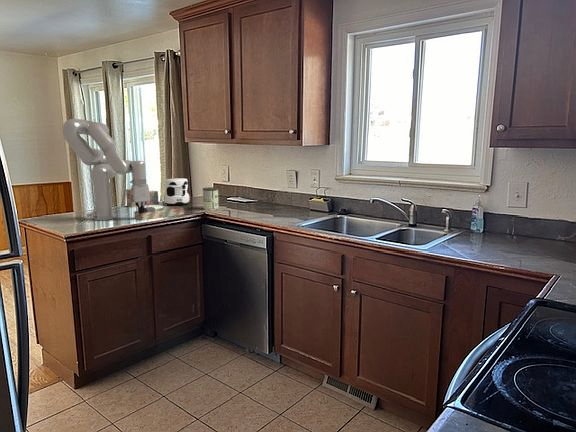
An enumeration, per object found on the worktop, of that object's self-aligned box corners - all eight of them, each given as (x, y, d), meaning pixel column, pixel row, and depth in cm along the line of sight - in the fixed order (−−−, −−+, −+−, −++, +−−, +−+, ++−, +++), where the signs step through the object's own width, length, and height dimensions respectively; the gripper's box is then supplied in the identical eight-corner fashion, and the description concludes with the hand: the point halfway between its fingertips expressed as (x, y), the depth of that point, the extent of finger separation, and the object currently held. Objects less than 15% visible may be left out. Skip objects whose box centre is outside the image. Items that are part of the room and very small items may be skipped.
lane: (142, 220, 252) (142, 213, 251) (134, 218, 258) (134, 211, 258) (184, 214, 272) (183, 208, 271) (175, 212, 278) (175, 206, 278)
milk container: (176, 202, 323) (175, 177, 319) (194, 203, 315) (193, 178, 312) (159, 205, 307) (158, 179, 304) (178, 207, 300) (177, 180, 296)
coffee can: (205, 207, 298) (205, 187, 295) (220, 208, 297) (219, 187, 294) (201, 210, 288) (200, 188, 285) (216, 210, 287) (216, 189, 284)
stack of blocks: (153, 203, 317) (152, 186, 315) (158, 204, 313) (157, 187, 311) (126, 206, 301) (125, 188, 298) (131, 207, 297) (130, 189, 294)
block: (147, 215, 256) (147, 208, 256) (143, 214, 260) (142, 207, 259) (155, 214, 260) (154, 207, 259) (150, 213, 263) (150, 206, 263)
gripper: (130, 183, 245) (132, 215, 248) (154, 181, 255) (156, 212, 259) (123, 182, 250) (126, 214, 253) (147, 180, 260) (149, 211, 264)
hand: (141, 213), depth 256 cm, fingers closed
